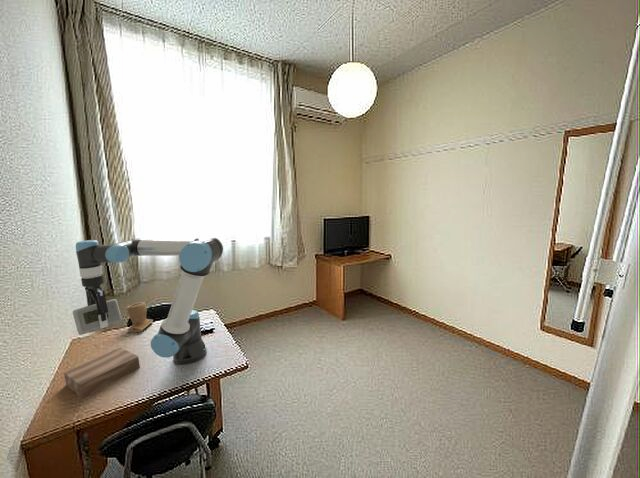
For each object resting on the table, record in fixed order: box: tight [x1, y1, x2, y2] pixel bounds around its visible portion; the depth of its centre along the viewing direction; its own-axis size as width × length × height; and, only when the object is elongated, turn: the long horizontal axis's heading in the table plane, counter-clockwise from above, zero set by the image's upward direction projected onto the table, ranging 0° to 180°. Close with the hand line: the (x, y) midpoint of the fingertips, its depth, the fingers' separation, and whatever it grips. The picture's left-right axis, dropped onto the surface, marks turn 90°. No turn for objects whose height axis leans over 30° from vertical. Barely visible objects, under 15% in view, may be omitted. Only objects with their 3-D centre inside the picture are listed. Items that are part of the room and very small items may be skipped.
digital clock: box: [72, 298, 123, 336], centre depth 124 cm, size 16×9×11 cm, turn 132°
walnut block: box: [63, 347, 141, 399], centre depth 125 cm, size 16×22×6 cm
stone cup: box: [126, 301, 154, 333], centre depth 170 cm, size 15×12×15 cm
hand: (100, 325), depth 125 cm, fingers closed on digital clock, 7 cm apart
